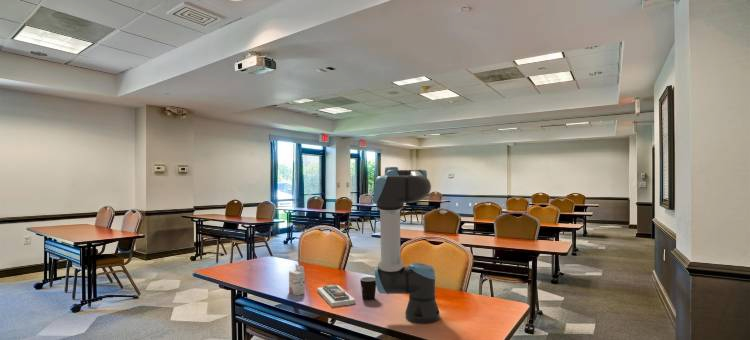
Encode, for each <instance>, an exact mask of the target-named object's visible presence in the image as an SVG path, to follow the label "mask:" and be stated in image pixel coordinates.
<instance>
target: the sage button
mask: <svg viewBox="0 0 750 340" xmlns="http://www.w3.org/2000/svg"><path fill="white" fill-rule="evenodd" d="M335 285H336V284H328V285H325V286H326V289H332V288H336V286H335Z"/></svg>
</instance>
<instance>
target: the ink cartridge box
mask: <svg viewBox="0 0 750 340" xmlns="http://www.w3.org/2000/svg"><path fill="white" fill-rule="evenodd" d="M305 278H306V273H305V266H303V265H299V264H295V269H293V270H289V271H288V292H289V293H290V294H293V295H296V296H302V295H304V294H305V293H306V289H305V286H306V285H305V283H306V280H305Z"/></svg>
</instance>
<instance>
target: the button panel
mask: <svg viewBox="0 0 750 340" xmlns="http://www.w3.org/2000/svg"><path fill="white" fill-rule="evenodd" d="M334 285H335V286H336V288H332V289H340V290H343V291H345V295H344V296H335V293H331V289H326V286H327V285H323V286H322V287H317V290H316V292H317V293H318V294H319V295H320V296H321V297H322V298H323V299H324V301H326V302H327V303H328V304H329V306H330V307H331V308H335V307H340V306H342V307H343V306H348V305H355V304H356V299H355V298H354V297H353V296H351V295H350V293H348V292H347V291H346V290H345V289H344V288H342V286H340V285H338V284H334Z"/></svg>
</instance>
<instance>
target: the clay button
mask: <svg viewBox="0 0 750 340" xmlns="http://www.w3.org/2000/svg"><path fill="white" fill-rule="evenodd" d="M343 290H344V289H343ZM343 290H338V291H335V296H344V295H345V291H346V290H344V291H343Z"/></svg>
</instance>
